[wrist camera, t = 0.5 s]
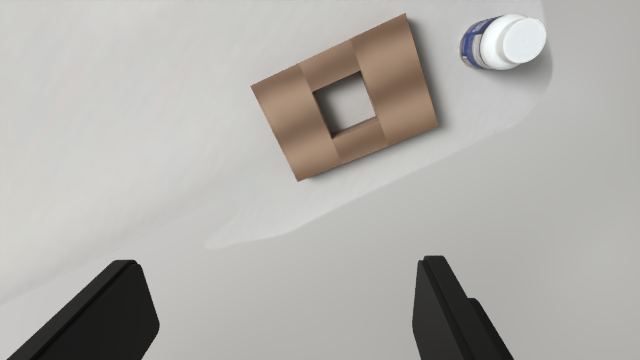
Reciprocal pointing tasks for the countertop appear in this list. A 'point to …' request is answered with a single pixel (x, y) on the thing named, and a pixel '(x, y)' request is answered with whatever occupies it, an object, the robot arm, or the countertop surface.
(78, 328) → the robot arm
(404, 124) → the socket block
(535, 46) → the pill bottle
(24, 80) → the countertop surface
